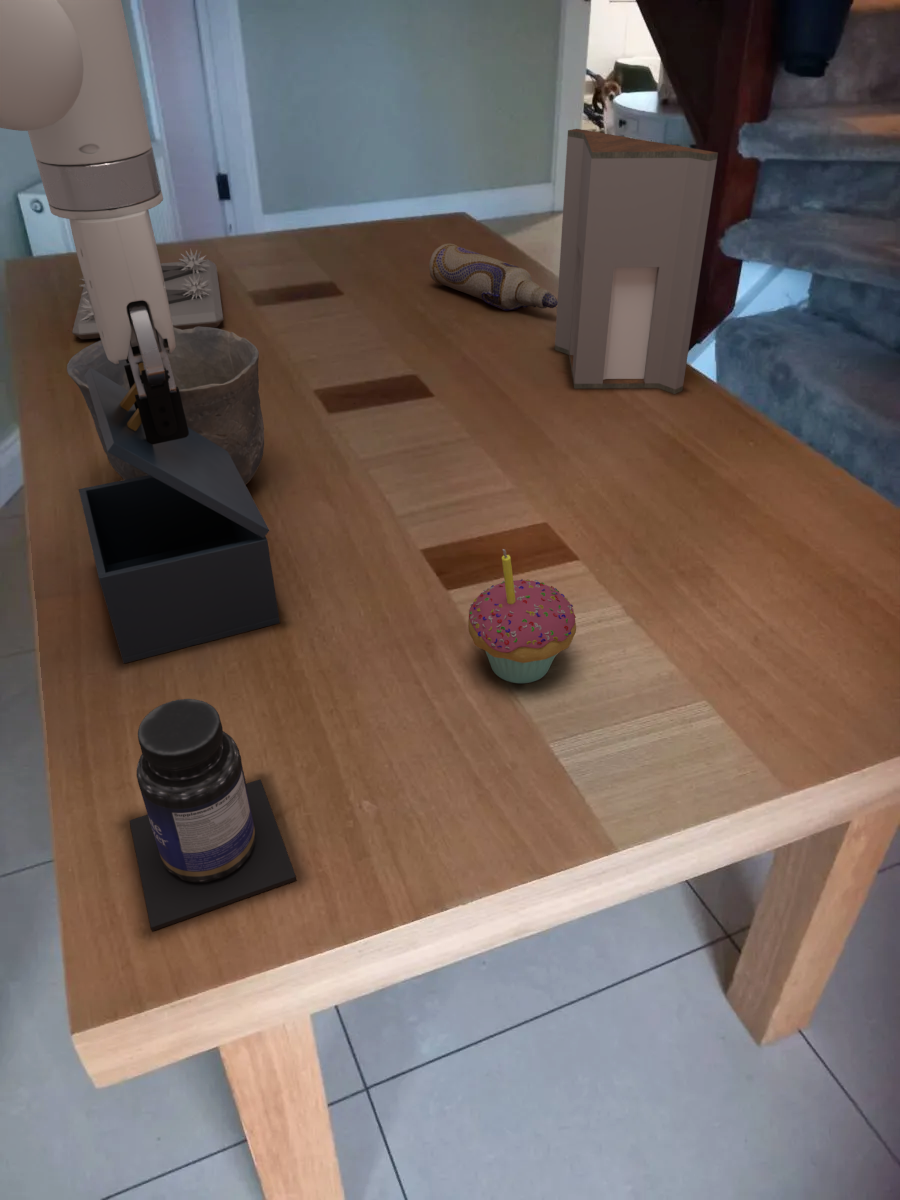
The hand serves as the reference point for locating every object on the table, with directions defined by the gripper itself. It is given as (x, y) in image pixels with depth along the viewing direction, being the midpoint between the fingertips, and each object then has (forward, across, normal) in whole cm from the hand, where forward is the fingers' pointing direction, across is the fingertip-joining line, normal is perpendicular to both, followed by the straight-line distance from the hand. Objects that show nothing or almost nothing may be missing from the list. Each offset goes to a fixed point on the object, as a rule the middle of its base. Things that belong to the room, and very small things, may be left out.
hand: (161, 421), depth 74 cm
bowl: (+17, -19, +2) cm, 26 cm away
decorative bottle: (+20, -60, +57) cm, 85 cm away
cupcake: (+17, +21, +22) cm, 35 cm away
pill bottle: (+16, +30, -5) cm, 34 cm away
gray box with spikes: (+19, -82, +8) cm, 84 cm away
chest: (+17, 0, -2) cm, 17 cm away
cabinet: (+19, -27, +57) cm, 66 cm away
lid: (+3, 0, 0) cm, 3 cm away
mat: (+16, +30, -5) cm, 34 cm away
